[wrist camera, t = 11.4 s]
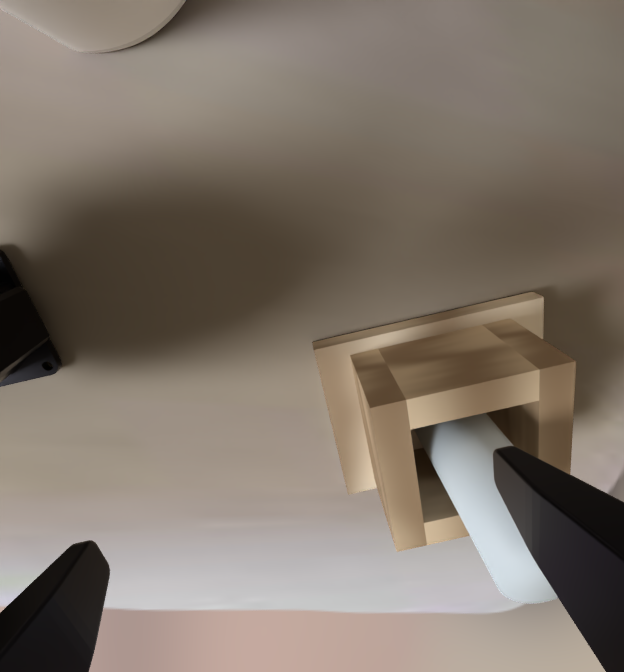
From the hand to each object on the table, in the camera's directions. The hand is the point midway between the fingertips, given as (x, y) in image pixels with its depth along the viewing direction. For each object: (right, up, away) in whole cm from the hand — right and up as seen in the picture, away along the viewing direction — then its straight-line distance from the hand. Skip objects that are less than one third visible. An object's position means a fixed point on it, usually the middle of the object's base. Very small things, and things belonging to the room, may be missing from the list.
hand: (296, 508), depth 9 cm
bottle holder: (+7, 0, +15) cm, 16 cm away
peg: (+7, 0, +14) cm, 16 cm away
